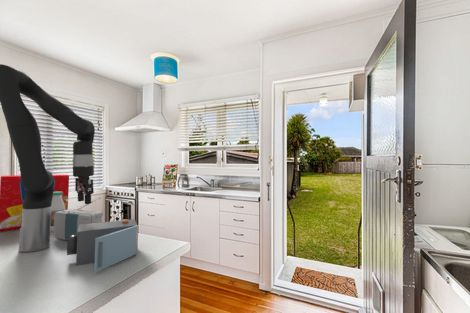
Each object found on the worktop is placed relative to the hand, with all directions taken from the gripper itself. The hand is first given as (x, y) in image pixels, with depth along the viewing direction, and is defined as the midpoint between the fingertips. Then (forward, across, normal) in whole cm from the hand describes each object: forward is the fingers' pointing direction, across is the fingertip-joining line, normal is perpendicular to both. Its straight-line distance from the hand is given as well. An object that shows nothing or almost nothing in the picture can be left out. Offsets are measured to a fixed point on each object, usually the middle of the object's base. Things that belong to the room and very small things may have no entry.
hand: (84, 202), depth 97 cm
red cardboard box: (+19, -53, -8) cm, 57 cm away
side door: (+19, +27, +2) cm, 33 cm away
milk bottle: (+19, -37, -2) cm, 42 cm away
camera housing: (+19, +15, +1) cm, 25 cm away
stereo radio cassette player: (+20, -12, +1) cm, 23 cm away
